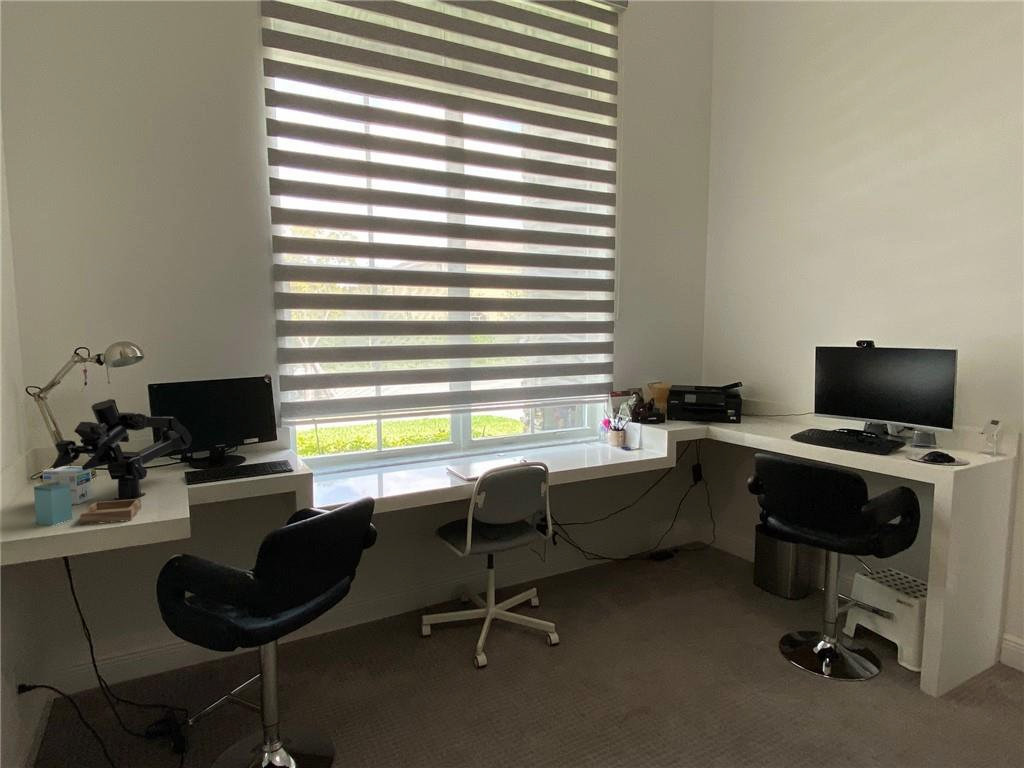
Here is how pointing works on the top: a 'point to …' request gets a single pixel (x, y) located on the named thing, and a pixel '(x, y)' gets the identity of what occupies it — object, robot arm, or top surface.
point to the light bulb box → (72, 481)
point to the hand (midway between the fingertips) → (68, 468)
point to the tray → (111, 511)
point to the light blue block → (53, 503)
